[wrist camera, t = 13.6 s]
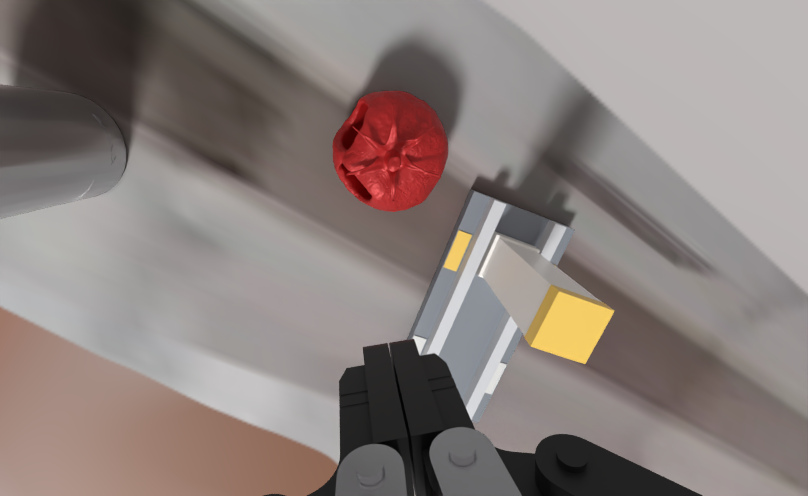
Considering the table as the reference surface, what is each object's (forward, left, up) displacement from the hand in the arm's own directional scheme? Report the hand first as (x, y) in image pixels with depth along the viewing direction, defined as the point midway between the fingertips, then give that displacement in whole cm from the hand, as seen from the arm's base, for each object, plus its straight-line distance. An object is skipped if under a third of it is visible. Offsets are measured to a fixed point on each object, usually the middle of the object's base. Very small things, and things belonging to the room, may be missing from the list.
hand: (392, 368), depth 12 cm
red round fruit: (+2, +4, -29) cm, 30 cm away
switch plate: (+7, -14, -29) cm, 33 cm away
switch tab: (+11, -8, -27) cm, 30 cm away
